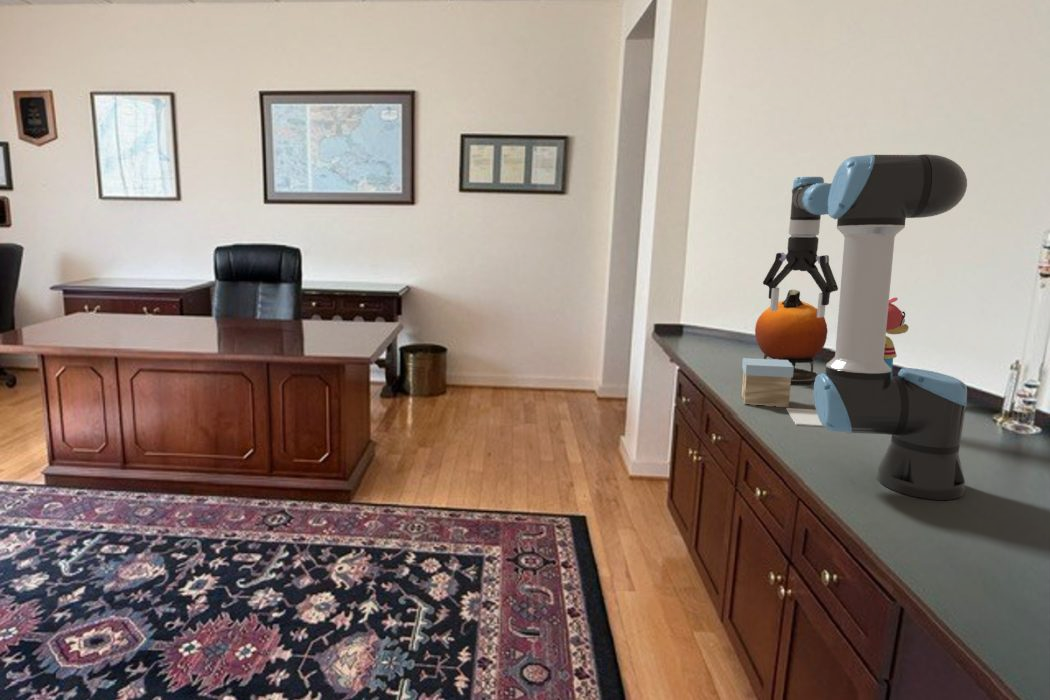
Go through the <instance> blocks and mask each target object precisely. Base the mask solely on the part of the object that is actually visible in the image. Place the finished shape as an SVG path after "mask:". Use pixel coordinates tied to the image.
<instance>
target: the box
mask: <svg viewBox="0 0 1050 700" xmlns="http://www.w3.org/2000/svg"><path fill="white" fill-rule="evenodd" d="M741 384H742V387H741V397H742V398H741V400H742V399H743V400H742V402H744V403H743V405H744V404H752V405H751V406H756V405H766V406H765V407H773V406H776V407H777V408H790V406H789V405H790V395H791V385H792V384H791V377H773V376H752V375H745V373H744V371H742V383H741ZM753 404H754V405H753Z"/></svg>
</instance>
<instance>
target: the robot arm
mask: <svg viewBox="0 0 1050 700" xmlns="http://www.w3.org/2000/svg"><path fill="white" fill-rule="evenodd" d="M792 183H793V185H792V189H791V203H790V204H791V205H790V219H789V227H788V234H789V237H788V238H787V239H788V240H787V253H784V252H777V253H776V255H775V259H774V262H773V264H772V265H771V267H770V269H769V271H768V272H767V273H766V276H765V277H764V280H763V281H762V285H764V286H767V287H768V299H770V306H769V307H770V311H777V310H778V302H779V297H780V287H779V285H780V283H781V282H782V281H783V280H784V279H785V278H786V277H787V276H788V275H789V274H790V273H791V272H792V271H800V272H807V273H808V274H809V275H810V276H811V278H812V280H813V281H814V282H815V283H816V285H817V287H818V288H819V289H820V292H819V293H818V301H817V318H821V317H824V318H825V316H826V315H825V313H826V306H828V305H829V304H830V296H831V293H834V292H837V291H838V290H839V287H838V284H837V282H836V279H835V276H834V273H833V270H832V269H831V266H830V262H829V261H830V257H829V255H827V254H825V255H824V254H823V255H818V248H819V247H818V246H819V239H820V238H819V237H818V235H819V234H820V228H821V216H823V215H828V216H829V217H830V218H831V219H834V220H837V221H836V222H837V223H836V229H837V230H838V231H839V232H840V233H841V234H842V235H843V237H844V241H843V242H844V243H843V252H842V253H843V255H842V267H841V278H840V279H841V280H840V291H839V292H840V293H839V302H838V303H839V305H838V317H837V329H836V339H835V340H836V342H835V352H834V356H833V358H831V360H829V361H828V362H827V363H826V365H825V372H824V373H823V372H822V373H819V374H817V376H816V378H815V382H814V384H813V399H814V407H815V410H816V411H817V414H818V417H819V420H820V422H821V424H822V425H823V426H824V427H823V428H825V429H826V430H828V431H830V432H836V433H846V434H847V435H848V434H850V435H851V434H869V435H870V434H871V435H887V436H891V439H890V444H888V448H887V449H886V452H885V453H884V455H883V457H882V458H881V461H880V462H879V464H878V467H877V472H876V478H877V480H878V482H879V483H880V484H882V485H883V486H885V487H886V488H888V489H890V490H892V491H895V492H898V493H901V494H903V495H906V496H911V497H913V498H914V497H915V498H920V499H924V500H925V499H927V500H933V501H934V500H936V501H949V500H956V499H959V498H962V497H963V496H964V494H965V489H966V479H965V476H964V470H963V466H962V463H961V459H960V447H961V446H960V445H961V442H962V441H961V440H962V433H963V427H964V421H965V414H966V409H967V408H966V407H968V403H967V401H968V387H967V386H966V384H965V382H963V381H962V380H961V379H959V378H957V377H953V376H951V375H948V374H944V373H940V372H937V371H933V370H927V369H922V368H921V369H920V368H915V367H914V368H913V367H902V368H901V369H900V370H899V371H898V373H897V376H893V377H891V368H890V367H889V366H888V365H887V364H886V363H885V361H884V360H883V359H884V348H885V337H886V336H887V335H886V334H887V333H886V326H887V315H888V304H889V300H890V292H891V283H892V282H891V281H892V270H893V258H894V248H895V238H896V236H897V235H898V233H900V232H901V231H902V230H904V229H905V227H906V219H919V218H927V217H928V218H930V217H934V216H938V215H941V214H944V213H947V212H949V211H951V210H952V209H953V208H954V207H956V206H957V205H958V204H959V203H960V202H961V201H962V199H963V198H964V196H965V194H966V192H967V188H968V179H967V175H966V172H965V171H964V169H963V168H962V167H961V165H959V164H958V163H957V162H956V161H954V160H952V159H950V158H948V157H945V156H941V155H938V154H937V155H936V154H928V153H927V154H926V153H925V154H866V155H857V156H850V157H848V158H846V159H845V160H843V161H842V162H841V163H840V165H839V167H838V168H837V169H836V171H835V174H834V176H833V179H832V181H831V183H828V182H825V179H824V178H823V176H799V177H798V176H797V177H796V178H794V180H793V182H792ZM784 261H786V262H787V263H786V265H784V267H783V269H782V270H781V271H779V270H780V269H781V267H782V266H783V263H784ZM816 263H818V264H819V267H820V269H821V272H822V274H823V276H822V274H821V273H820V271H819V269H818V267H817V265H816Z"/></svg>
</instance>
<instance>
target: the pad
mask: <svg viewBox="0 0 1050 700" xmlns="http://www.w3.org/2000/svg"><path fill="white" fill-rule="evenodd" d="M785 410H786V412H787V413H788V414H789V416H790V418H791V420H792V421H793V422H795V423H794V424H795V426H806V427H823V428H825V427H824V426H823V425H822V424H821V422H820V420H819V417H818V414H817V411H816V409H811V408H810V409H809V408H795V407H794V408H791V407H785Z"/></svg>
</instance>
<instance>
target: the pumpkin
mask: <svg viewBox="0 0 1050 700" xmlns="http://www.w3.org/2000/svg"><path fill="white" fill-rule="evenodd" d="M800 296H801V291H800V290H797V289H789V290H788V292H787V294H786V298H785V300H780V301H778V310H777V311H770V306H769V307H768V308H766V309H765V310H764V311H763V312H762V313H761V314H760V316H759V317H758V318H757V320H756V323H755V327H754V328H755V330H754V335H755V336H754V337H755V339H756V342H757V345H758V347H759V349H760V351H761V352H762V353H763V354H764V355H763V359H768V358H770V359H774V360H788V361H789V362H790V363H791V364H792V366H793V367H794V370H793V377H791V385H803V386H804V385H805V386H808V385H814V382H815V378H816V376H817V375H818V373H816V372H815V371H814V363H815V362H814V359H813V358H815V357H816V356H817V355H819V354H820V353H821V351H822V350H823V348H824V347H825V344H826V342H827V339H828V337H827V336H828V324H827V322H826V318H825V316H824V317H821V318H817V309H818V307H815V306H814V305H812V304H810V303H809V302H806V301H802V300H801V298H800ZM801 363H805V364H806V363H807V364H808V363H809V364H810V371H809V370H806V369H803V368H802V369H801V368H798V367H797V368H796V364H801Z"/></svg>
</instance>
